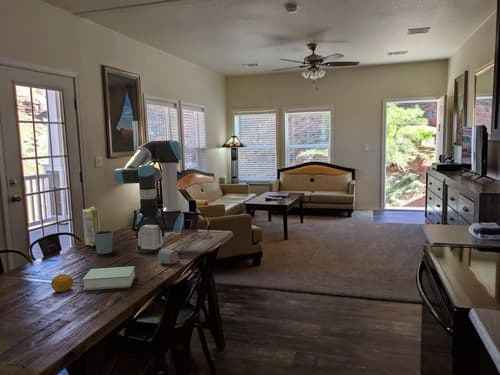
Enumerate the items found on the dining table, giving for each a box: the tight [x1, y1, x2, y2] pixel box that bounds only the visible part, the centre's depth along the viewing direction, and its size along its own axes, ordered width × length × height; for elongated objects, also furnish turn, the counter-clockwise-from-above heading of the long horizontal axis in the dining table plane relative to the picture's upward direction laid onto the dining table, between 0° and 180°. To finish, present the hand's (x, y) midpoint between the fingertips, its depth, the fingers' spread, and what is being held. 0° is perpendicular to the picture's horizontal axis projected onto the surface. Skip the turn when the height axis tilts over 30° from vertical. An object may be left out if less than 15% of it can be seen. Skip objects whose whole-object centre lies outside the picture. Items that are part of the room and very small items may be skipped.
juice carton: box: [82, 206, 101, 247], centre depth 246 cm, size 9×8×24 cm
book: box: [82, 265, 136, 291], centre depth 177 cm, size 14×20×5 cm
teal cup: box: [94, 230, 114, 255], centre depth 228 cm, size 10×10×12 cm
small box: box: [139, 225, 161, 249], centre depth 184 cm, size 8×6×10 cm
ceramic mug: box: [157, 248, 179, 265], centre depth 205 cm, size 11×8×8 cm
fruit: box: [50, 273, 74, 293], centre depth 169 cm, size 8×8×8 cm
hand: (150, 244), depth 184 cm, fingers closed on small box, 9 cm apart
